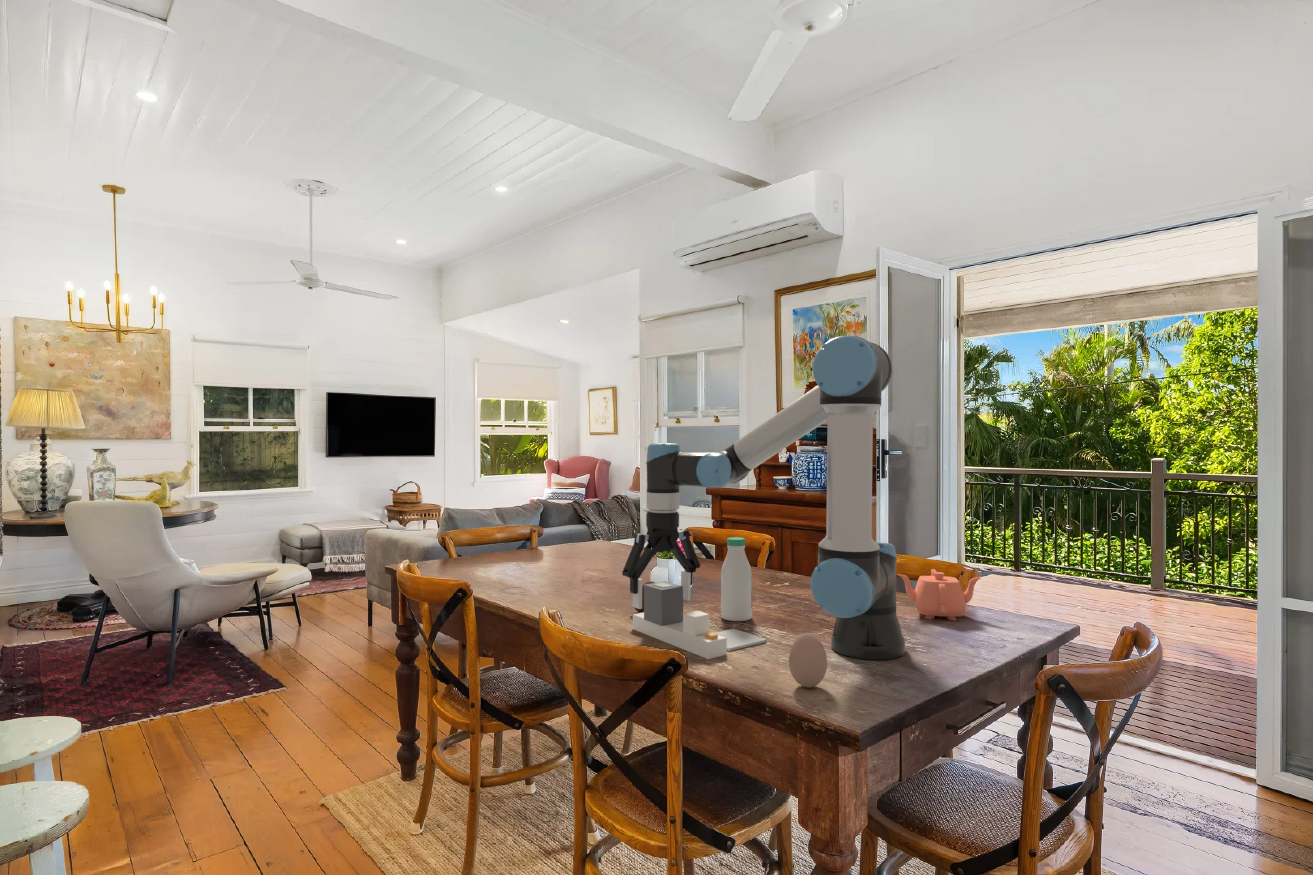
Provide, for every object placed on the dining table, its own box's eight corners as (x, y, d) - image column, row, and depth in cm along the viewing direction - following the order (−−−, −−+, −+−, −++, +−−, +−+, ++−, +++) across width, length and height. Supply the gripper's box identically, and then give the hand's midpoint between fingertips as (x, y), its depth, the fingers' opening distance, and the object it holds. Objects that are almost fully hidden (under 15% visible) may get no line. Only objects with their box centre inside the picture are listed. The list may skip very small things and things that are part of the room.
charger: (683, 621, 161) (683, 585, 161) (661, 625, 157) (661, 589, 157) (665, 615, 167) (664, 580, 167) (643, 619, 163) (643, 584, 163)
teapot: (896, 614, 181) (896, 571, 181) (932, 606, 188) (932, 565, 188) (946, 626, 168) (946, 580, 168) (983, 618, 176) (982, 574, 176)
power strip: (726, 654, 148) (726, 634, 148) (708, 659, 145) (708, 638, 145) (650, 625, 171) (649, 607, 171) (632, 629, 168) (632, 610, 168)
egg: (809, 696, 124) (809, 640, 124) (781, 685, 130) (780, 632, 130) (835, 688, 128) (834, 634, 128) (806, 677, 134) (806, 626, 134)
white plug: (709, 632, 152) (709, 614, 152) (694, 636, 149) (694, 617, 149) (697, 628, 155) (697, 610, 155) (683, 631, 153) (683, 613, 153)
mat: (766, 642, 157) (766, 639, 157) (729, 651, 150) (729, 648, 150) (733, 631, 166) (733, 628, 166) (696, 639, 159) (696, 636, 159)
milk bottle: (751, 622, 173) (750, 540, 173) (719, 621, 175) (718, 540, 174) (753, 614, 181) (752, 536, 180) (722, 613, 182) (722, 535, 182)
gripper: (695, 506, 172) (694, 593, 172) (607, 512, 158) (606, 607, 158) (715, 509, 166) (714, 599, 166) (625, 515, 152) (625, 614, 152)
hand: (662, 603), depth 162 cm, fingers open, 13 cm apart
